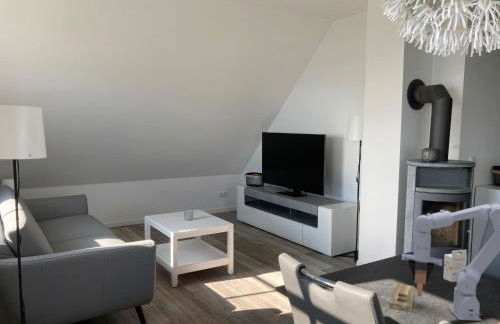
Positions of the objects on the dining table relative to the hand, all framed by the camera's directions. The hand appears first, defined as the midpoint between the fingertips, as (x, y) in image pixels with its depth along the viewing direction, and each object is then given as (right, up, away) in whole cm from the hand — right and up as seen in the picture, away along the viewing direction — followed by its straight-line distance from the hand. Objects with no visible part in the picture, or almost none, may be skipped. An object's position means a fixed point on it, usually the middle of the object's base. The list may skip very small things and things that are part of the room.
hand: (420, 280), depth 160 cm
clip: (0, -5, 0) cm, 5 cm away
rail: (-4, -10, +7) cm, 13 cm away
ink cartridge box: (+28, -9, +30) cm, 42 cm away
